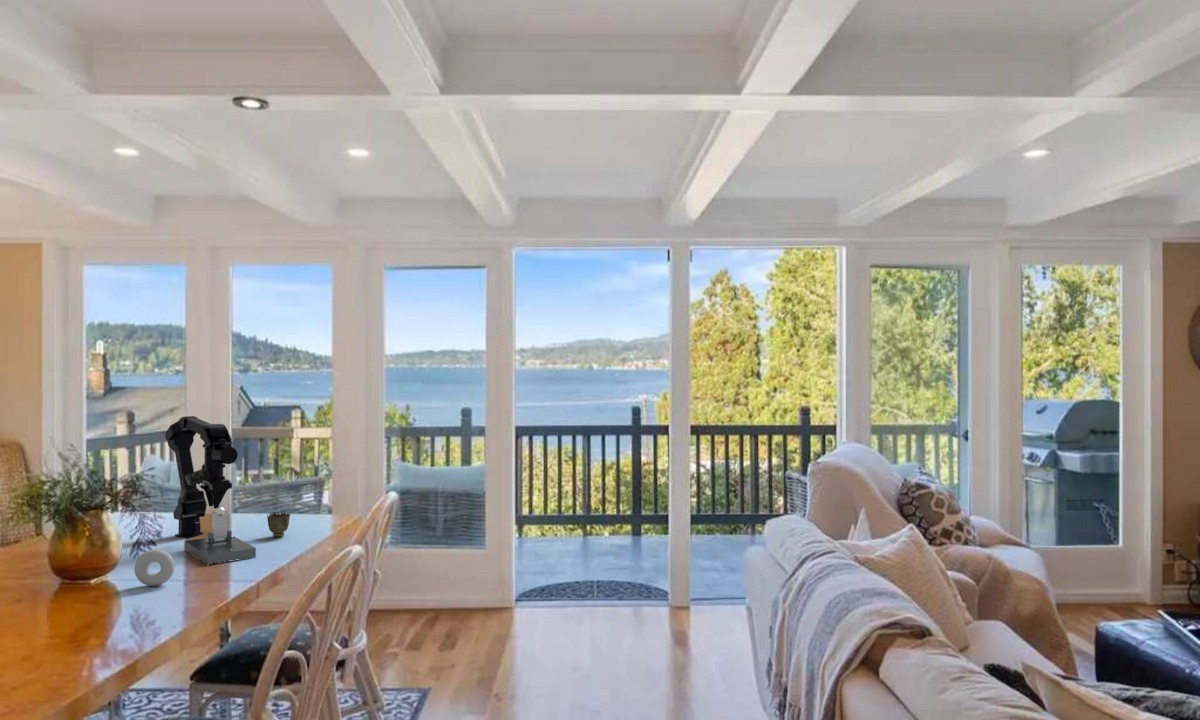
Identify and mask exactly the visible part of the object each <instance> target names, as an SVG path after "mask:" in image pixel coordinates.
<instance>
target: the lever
mask: <svg viewBox="0 0 1200 720" xmlns="http://www.w3.org/2000/svg"><path fill="white" fill-rule="evenodd" d="M211 515H212V518H211V519H212V520H211V521H212V524H211V525H212V526H211V527H212V528H211V530H212V531H211V533H213V544H215V543H222V542H227V530H228V510H226V509H225V508H224V507H223V506H219V507H218V508H216V509H214V511H212V513H211Z"/></svg>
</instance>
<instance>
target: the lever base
mask: <svg viewBox="0 0 1200 720" xmlns="http://www.w3.org/2000/svg"><path fill="white" fill-rule="evenodd" d="M184 551H185V552H186V551H187V552H186V553H188V552H189V553H190V554H189V553H188V554H189V555H191V554H192V555H191V556H193V555H194V556H195V557H194V556H193V557H194V558H196V557H197V558H199V559H200V560H202V561H204V562H205V563H207V564H211V563H218V562H224V561H229V560H236V559H242V560H246V559H245V558H248V559H253V558H252V557H254V558H256V557H257V555H256V554H257V547H255V546H253V545H251V544H250V543H248V542H245V541H244V540H242V539H240V538H238V537H236V536H235V535H233V534H232V530H231V529H227V542H222V543H215V544H213V533H212V531H211V532H210V531H209V532H207V537H203V538H197V539H196V538H195V539H190V540H184ZM197 558H196V559H197ZM199 559H198V560H199ZM200 560H199V561H200ZM202 561H201V562H202ZM236 561H237V560H236ZM205 563H204V564H205ZM224 563H225V562H224ZM218 564H219V563H218Z"/></svg>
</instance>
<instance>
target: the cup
mask: <svg viewBox="0 0 1200 720" xmlns="http://www.w3.org/2000/svg"><path fill="white" fill-rule="evenodd" d="M266 515H267V517H266V518H267V524H268V529H269V531H270V532H271V533H272V537H273V538H278V537H279V538H283V537H284V536H285V533H284V532H286V531H287V530H288V527H289V526H290V525H289V524H290V517H291V513H289V512H283V511H282V512H281V513H280V512H277V513H276V512H273V513H269V514H266Z"/></svg>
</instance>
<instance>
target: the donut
mask: <svg viewBox="0 0 1200 720" xmlns="http://www.w3.org/2000/svg"><path fill="white" fill-rule="evenodd" d="M152 563H157V564H158V565H159V566H160V570H159V571H158V572H157V573H154V572H151V570H150V569H149V567H150V565H151V564H152ZM175 567H176V566H175V561H174V559H173V556H171V555H170V554H169V553H168V552H167V551H166V550H165V551H164V549H163V550H162V549H156V548H155V549H151V550H147V551H144V552H143V553H142V554H141V555H140V556H139V557H138V558H137V559H136V561H135V563H134V575H135V577H136V578H137V580H138V582H140V583H141V584H143V585H146V586H148V587H156V586H161V585H162V584H163V585H164V584H165V583H167V582H168V580H170V579H171V577H172V576H173V574H174V573H175Z"/></svg>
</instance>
